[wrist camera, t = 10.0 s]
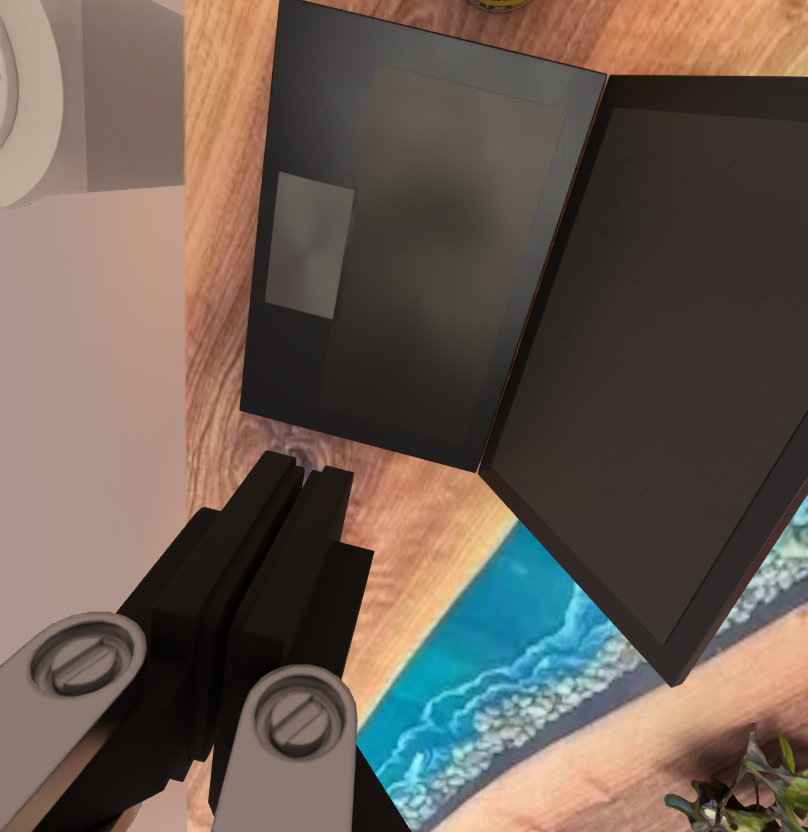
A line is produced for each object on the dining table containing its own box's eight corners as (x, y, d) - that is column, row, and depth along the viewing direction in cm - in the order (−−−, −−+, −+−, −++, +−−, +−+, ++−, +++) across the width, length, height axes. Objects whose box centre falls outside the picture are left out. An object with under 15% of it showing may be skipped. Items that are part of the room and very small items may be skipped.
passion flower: (697, 723, 54) (646, 831, 47) (732, 662, 48) (680, 776, 41) (831, 813, 48) (796, 954, 41) (893, 756, 41) (864, 911, 34)
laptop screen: (669, 689, 25) (682, 684, 25) (1067, 77, 14) (1079, 86, 15) (475, 473, 38) (486, 472, 38) (608, 73, 27) (621, 78, 28)
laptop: (247, 401, 40) (238, 411, 38) (289, 2, 29) (278, -7, 28) (476, 462, 39) (475, 474, 38) (602, 78, 29) (608, 73, 27)
